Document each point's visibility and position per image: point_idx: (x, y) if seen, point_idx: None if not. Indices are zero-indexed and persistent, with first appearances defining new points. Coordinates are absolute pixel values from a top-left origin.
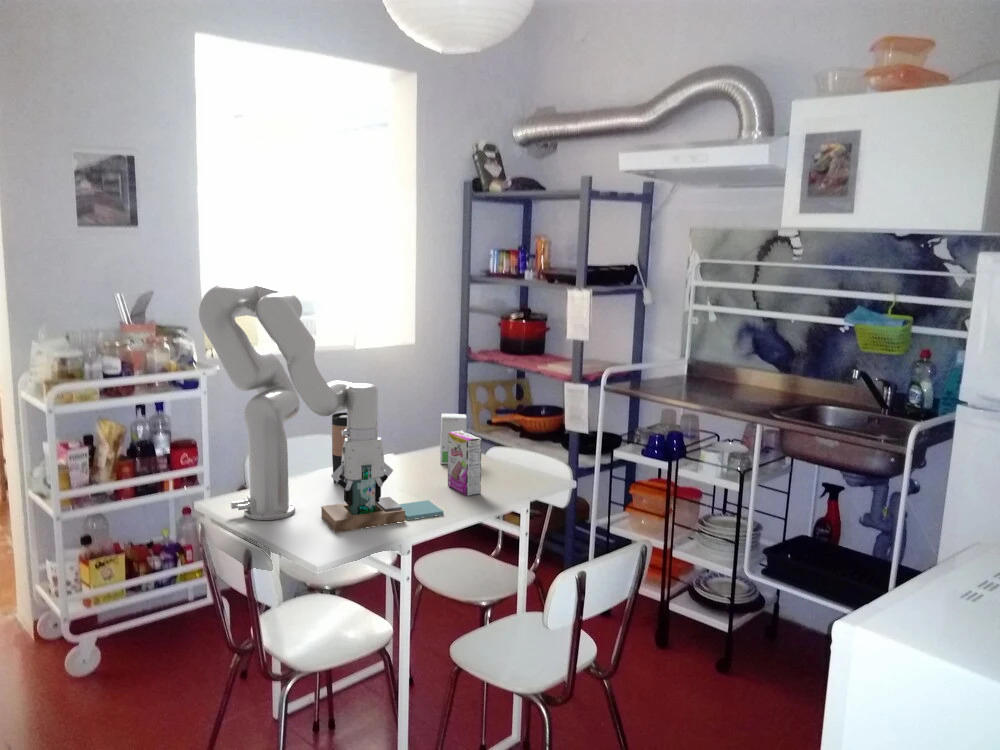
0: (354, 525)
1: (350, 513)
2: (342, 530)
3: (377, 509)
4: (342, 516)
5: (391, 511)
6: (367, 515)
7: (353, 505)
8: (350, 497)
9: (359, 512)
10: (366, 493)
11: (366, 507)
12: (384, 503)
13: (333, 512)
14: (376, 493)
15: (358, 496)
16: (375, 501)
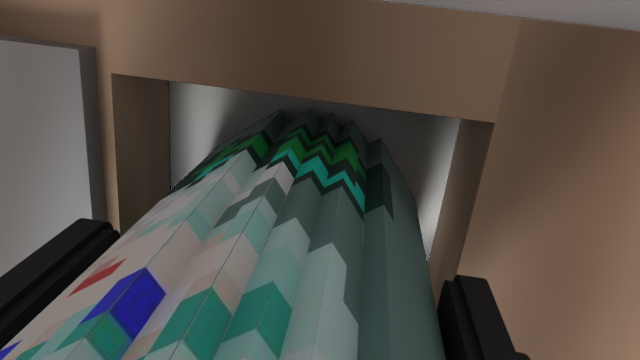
0: (504, 15)
1: (478, 195)
2: (625, 29)
3: None
4: (616, 152)
5: (27, 6)
6: (343, 21)
7: (421, 273)
8: (499, 351)
9: (370, 179)
10: (239, 263)
11: (291, 161)
12: (38, 232)
13: (612, 314)
14: (45, 292)
15: (391, 288)
16: None
